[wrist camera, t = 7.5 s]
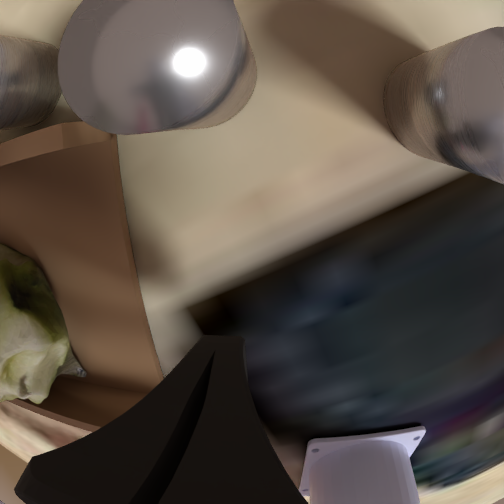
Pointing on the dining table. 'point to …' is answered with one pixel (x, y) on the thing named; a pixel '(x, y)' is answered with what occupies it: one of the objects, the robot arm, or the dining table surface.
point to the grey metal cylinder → (453, 104)
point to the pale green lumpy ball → (30, 331)
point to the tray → (81, 266)
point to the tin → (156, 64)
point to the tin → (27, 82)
